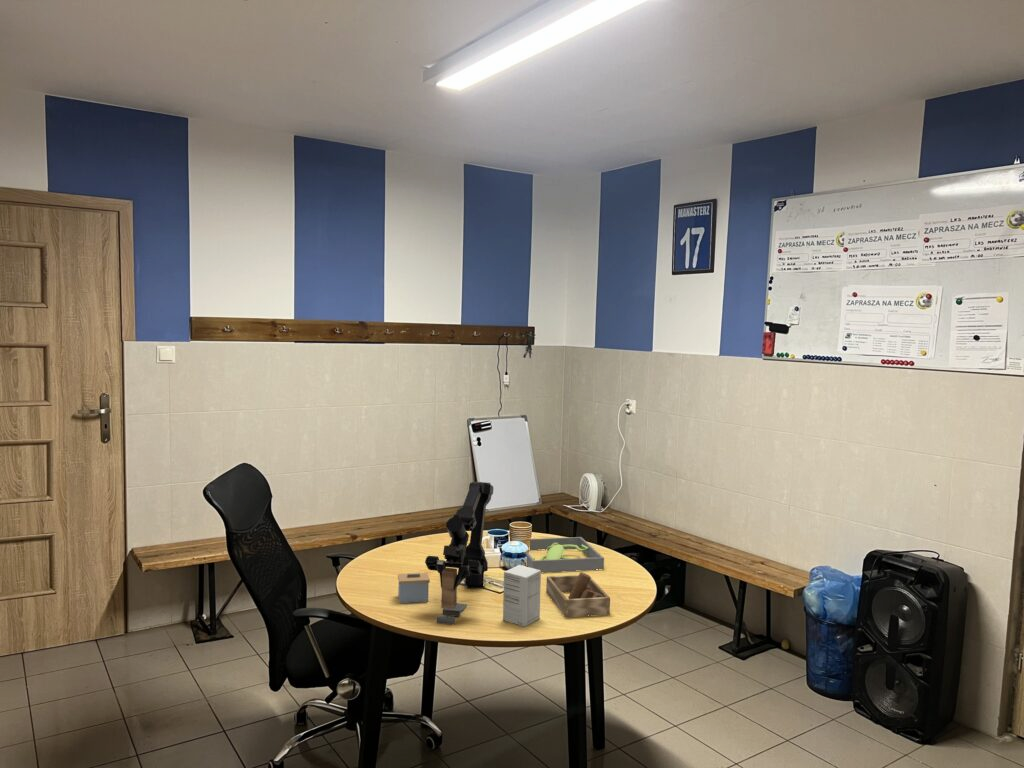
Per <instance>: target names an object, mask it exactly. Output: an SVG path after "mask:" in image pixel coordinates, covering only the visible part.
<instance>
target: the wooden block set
mask: <svg viewBox="0 0 1024 768" xmlns="http://www.w3.org/2000/svg"><path fill="white" fill-rule="evenodd" d="M578 575H579V576H578V578H577V580H576V582H575V584H574V587H573V589H572V591H571V592H569V593H570V594H569V596H567V597H568V598H567V599H580V598H598V597H604V596H603V595H602V594H600V593H597V592H593V591H591V589H589V588H587V585H588V583H589V580H590V578H592V577H591V576H590V575H589V574H587V573H585V572H584V571H579V574H578Z"/></svg>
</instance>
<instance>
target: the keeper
mask: <svg viewBox="0 0 1024 768" xmlns="http://www.w3.org/2000/svg"><path fill="white" fill-rule="evenodd" d="M461 615H462V612H461V610H460V609H445V608H442V615H441V614H440V615H439V614H437V616H436V617H435V618H436V619H435V620H436V622H437V623H436V624H443V623H444V625H452V624H454V625H455V623H456V616H458V617H457V618H460V617H461Z"/></svg>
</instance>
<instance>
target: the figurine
mask: <svg viewBox="0 0 1024 768" xmlns="http://www.w3.org/2000/svg"><path fill="white" fill-rule="evenodd" d="M581 546H582V547H583V548H585V549H580V548H579V547H578V546H577V545H560V544H558V543H553V544H552V545H551V546H549V547H548V548H547V550H546V551H547V553H546V554H544V555H543V556H542V557H541V558H540V559H539V560H554V559H571V557H568V556H567V557H566V556H563V555H564V552H565V549H564V548H565V547H573V548H576V550H577V551H578V552H582V553H583V551H586V550H588V547H586V546H584V545H581ZM532 558H533V559H534V560H536V558H535V557H532Z"/></svg>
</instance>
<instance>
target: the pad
mask: <svg viewBox="0 0 1024 768" xmlns="http://www.w3.org/2000/svg"><path fill="white" fill-rule="evenodd" d="M467 606H468V604H467V603H460V602H456V606H455V607H454V609H460V610H461V613H463V612H464V611H465V610H466V609H467Z"/></svg>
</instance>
